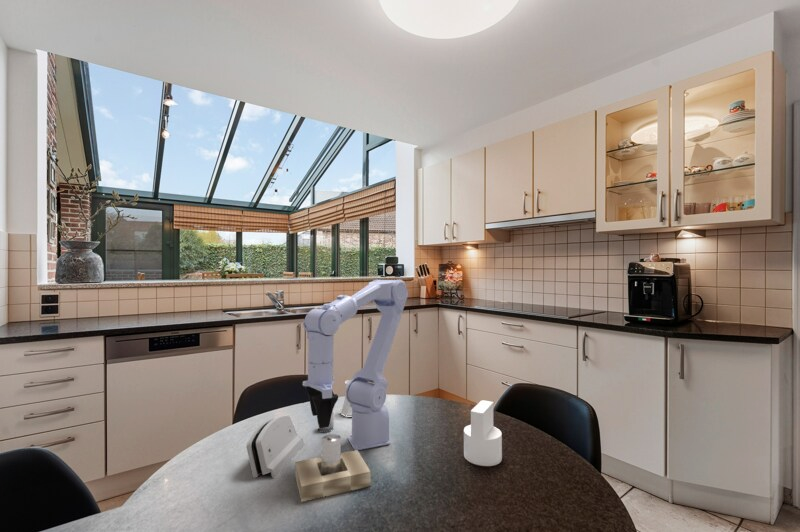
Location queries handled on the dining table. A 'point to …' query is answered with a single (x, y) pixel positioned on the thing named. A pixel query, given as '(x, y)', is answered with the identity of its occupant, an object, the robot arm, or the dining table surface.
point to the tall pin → (331, 454)
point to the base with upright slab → (482, 437)
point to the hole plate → (331, 476)
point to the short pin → (329, 426)
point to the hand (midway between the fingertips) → (320, 420)
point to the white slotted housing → (273, 446)
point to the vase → (346, 403)
